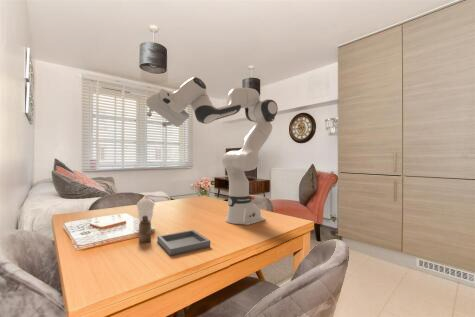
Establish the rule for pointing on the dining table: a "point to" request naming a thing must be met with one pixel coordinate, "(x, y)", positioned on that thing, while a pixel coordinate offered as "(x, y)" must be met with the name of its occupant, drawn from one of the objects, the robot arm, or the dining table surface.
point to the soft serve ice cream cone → (145, 207)
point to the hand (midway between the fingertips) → (155, 120)
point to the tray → (183, 242)
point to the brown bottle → (144, 230)
